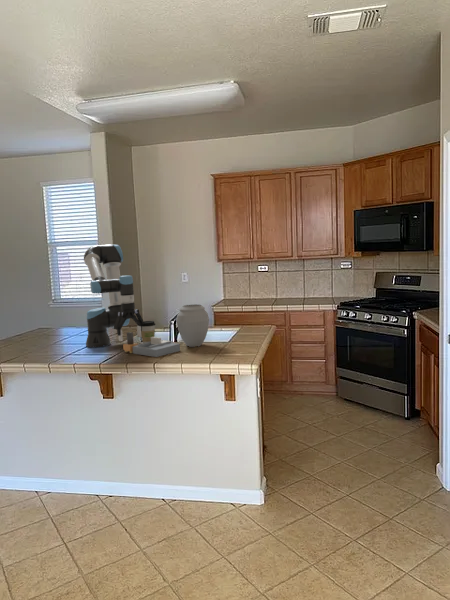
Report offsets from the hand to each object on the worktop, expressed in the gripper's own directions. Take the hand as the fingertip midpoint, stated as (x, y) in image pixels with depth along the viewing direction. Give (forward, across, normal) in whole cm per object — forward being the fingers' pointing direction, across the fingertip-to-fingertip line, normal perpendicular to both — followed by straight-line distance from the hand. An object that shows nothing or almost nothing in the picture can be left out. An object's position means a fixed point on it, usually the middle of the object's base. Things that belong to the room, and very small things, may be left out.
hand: (130, 339), depth 267 cm
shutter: (+4, +12, -12) cm, 17 cm away
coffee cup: (+8, +16, +3) cm, 18 cm away
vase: (+8, +30, -22) cm, 38 cm away
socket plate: (+8, +7, -14) cm, 17 cm away
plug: (+8, 0, 0) cm, 8 cm away
